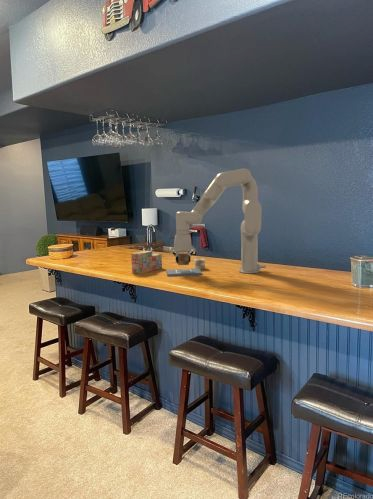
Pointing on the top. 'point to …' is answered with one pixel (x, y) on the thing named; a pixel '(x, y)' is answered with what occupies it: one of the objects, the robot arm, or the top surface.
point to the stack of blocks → (145, 261)
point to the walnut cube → (183, 259)
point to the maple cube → (199, 264)
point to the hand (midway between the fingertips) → (183, 262)
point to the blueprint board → (183, 272)
